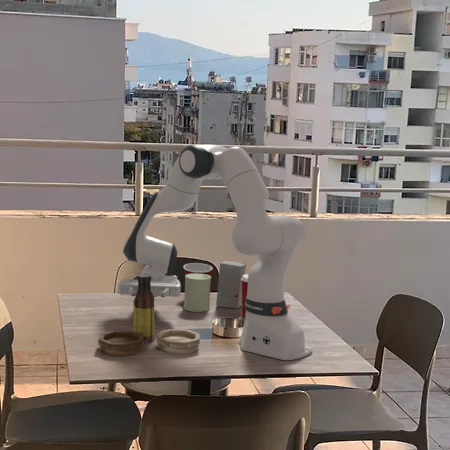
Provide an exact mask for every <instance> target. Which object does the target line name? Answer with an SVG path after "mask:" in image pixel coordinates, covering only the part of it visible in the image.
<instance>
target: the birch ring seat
mask: <svg viewBox="0 0 450 450" xmlns="http://www.w3.org/2000/svg"><path fill="white" fill-rule="evenodd" d="M200 337H201V336H200V333H199V332H196V331H193V330H189V329H184V328H183V329H182V328H181V329H180V328H170V329H163V330H162V331H161V330H160V331H158V332H157V335H156V343H157V349H158V350H159V351H160V352H161V351H162V352H164V353H167V354H173V355H185V354H191V353H195V352H197V351H198V350H199V345H200V344H201V342H200V341H201V340H200Z"/></svg>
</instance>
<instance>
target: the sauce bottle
mask: <svg viewBox="0 0 450 450" xmlns="http://www.w3.org/2000/svg"><path fill="white" fill-rule="evenodd" d="M136 280H138V290H137V293H136V295H135V296H134V299H133V318H132V319H133V323H132V324H133V325H132V326H133V328H132V329H133V332H136V333H139V334H141V335H143V336H144V341H143V342H149V341H152V340H153V339H154V336H155V297H154V296H153V293H152V292H151V290H150V289H151V287H150V285H151V284H150V281H151V275H150V274H141V273H140V274H137V279H136Z"/></svg>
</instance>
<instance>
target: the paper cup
mask: <svg viewBox="0 0 450 450" xmlns="http://www.w3.org/2000/svg"><path fill="white" fill-rule="evenodd" d="M248 274H249V273H245V275H243V276H242V279H241V280H242V306H241V315H242V317H243V318H245V314H246V310H245V300H246V297H247V289H248Z"/></svg>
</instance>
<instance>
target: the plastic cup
mask: <svg viewBox="0 0 450 450" xmlns="http://www.w3.org/2000/svg"><path fill="white" fill-rule="evenodd" d="M183 269H184V273H185V275H187V274H206V275H209V276H211V272H212V271H213V266H211V265H209V264H206V263H201V262H200V263H199V262H194V263H193V262H192V263H191V262H190V263H186V264H184V265H183Z"/></svg>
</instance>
